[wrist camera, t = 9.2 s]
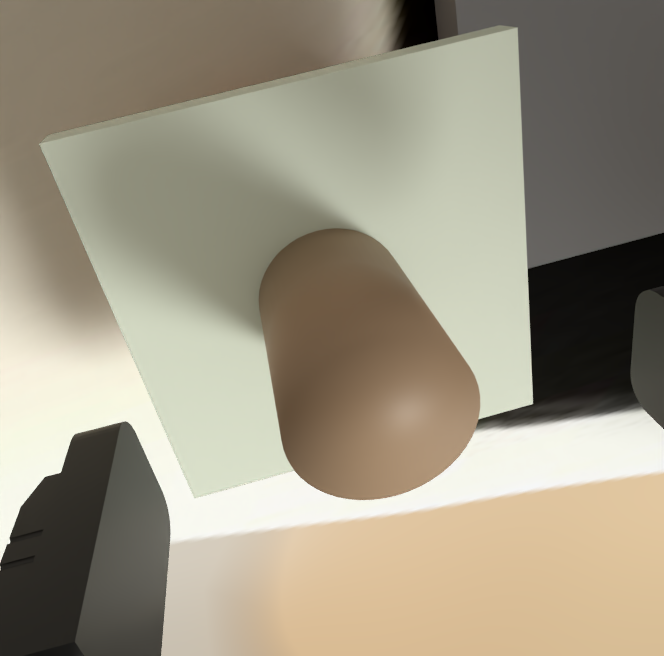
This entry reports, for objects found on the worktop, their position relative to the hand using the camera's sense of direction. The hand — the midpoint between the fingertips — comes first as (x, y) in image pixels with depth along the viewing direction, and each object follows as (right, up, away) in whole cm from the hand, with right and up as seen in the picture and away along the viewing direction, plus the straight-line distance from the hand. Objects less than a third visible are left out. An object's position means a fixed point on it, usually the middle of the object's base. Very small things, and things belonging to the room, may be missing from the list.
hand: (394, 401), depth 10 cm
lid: (-1, +2, +5) cm, 5 cm away
